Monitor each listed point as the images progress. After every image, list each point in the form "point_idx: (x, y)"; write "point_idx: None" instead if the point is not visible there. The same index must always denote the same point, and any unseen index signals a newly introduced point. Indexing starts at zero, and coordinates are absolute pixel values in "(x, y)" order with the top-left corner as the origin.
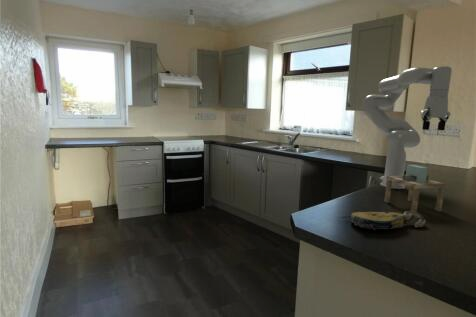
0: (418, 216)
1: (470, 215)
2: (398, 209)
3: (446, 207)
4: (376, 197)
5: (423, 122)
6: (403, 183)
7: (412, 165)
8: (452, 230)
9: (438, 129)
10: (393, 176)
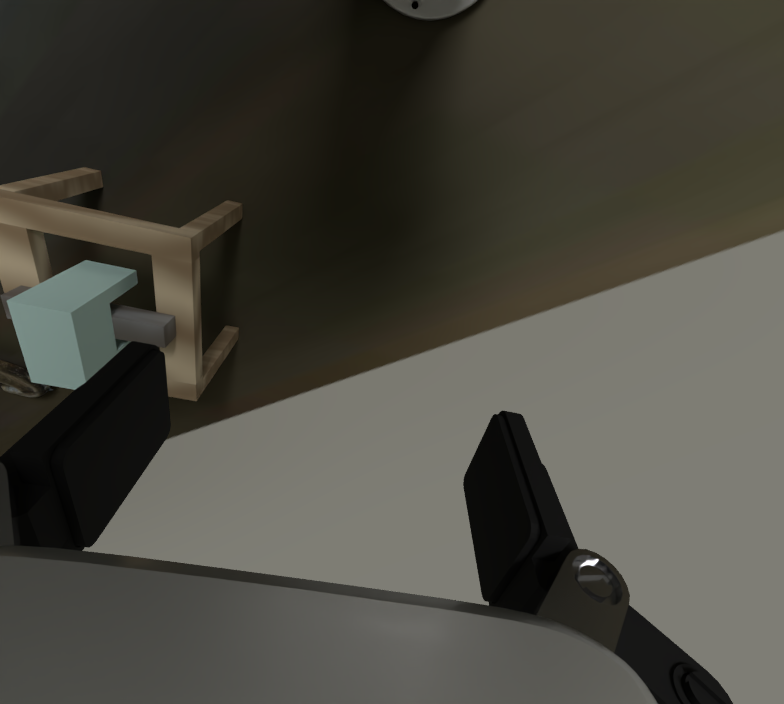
0: (15, 388)
1: (298, 392)
2: None
3: (306, 324)
4: (89, 92)
5: (40, 432)
6: None
7: (35, 323)
8: None
9: (491, 425)
10: (15, 212)
